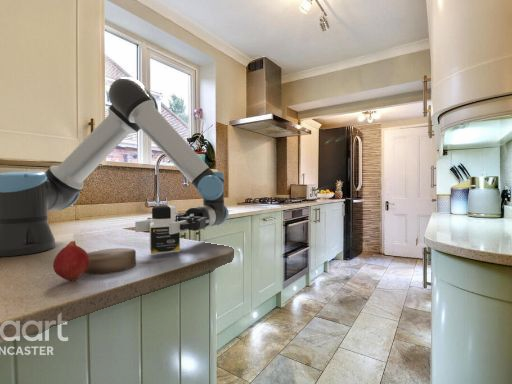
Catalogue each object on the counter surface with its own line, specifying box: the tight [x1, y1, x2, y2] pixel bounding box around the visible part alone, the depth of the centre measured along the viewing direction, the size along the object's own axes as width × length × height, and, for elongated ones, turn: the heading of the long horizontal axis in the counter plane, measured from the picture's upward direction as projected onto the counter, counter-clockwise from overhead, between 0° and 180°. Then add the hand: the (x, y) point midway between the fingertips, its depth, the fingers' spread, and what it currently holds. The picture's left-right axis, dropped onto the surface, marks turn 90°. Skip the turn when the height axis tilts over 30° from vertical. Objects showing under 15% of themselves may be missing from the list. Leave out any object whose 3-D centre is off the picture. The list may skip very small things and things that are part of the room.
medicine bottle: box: [149, 204, 181, 255], centre depth 73 cm, size 7×7×12 cm
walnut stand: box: [83, 247, 137, 275], centre depth 63 cm, size 11×11×3 cm
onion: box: [52, 240, 89, 282], centre depth 53 cm, size 6×6×8 cm
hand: (153, 227), depth 69 cm, fingers closed on medicine bottle, 10 cm apart
